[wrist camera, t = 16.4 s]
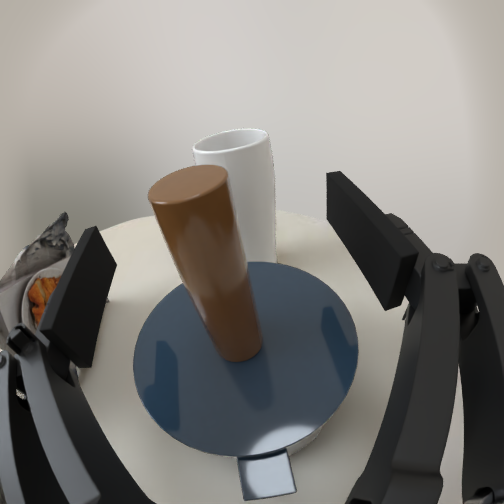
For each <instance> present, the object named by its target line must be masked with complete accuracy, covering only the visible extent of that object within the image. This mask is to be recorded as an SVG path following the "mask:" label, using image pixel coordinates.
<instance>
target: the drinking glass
mask: <svg viewBox="0 0 504 504" xmlns="http://www.w3.org/2000/svg"><path fill="white" fill-rule="evenodd" d="M192 151H193V156H194V161H195V166H197V165H218V166H222V167H224V168H225V169H226V170H227V171H228V174H229V178H230V183H231V188H232V193H233V197H234V202H235V207H236V212H237V217H238V221H239V226H240V231H241V236H242V240H243V245H244V250H245V254H246V259H247V262H271V263H277V253H276V208H275V207H276V206H275V174H274V164H273V156H272V150H271V144H270V139H269V134H268V133H267V132H266V131H264V130H261V129H253V128H245V129H234V130H228V131H224V132H219V133H216V134H213V135H210V136H208V137H205V138H203V139H201V140H199V141H198V142H196V143H195V144H194V145H193V147H192Z"/></svg>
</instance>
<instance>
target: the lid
mask: <svg viewBox="0 0 504 504" xmlns="http://www.w3.org/2000/svg"><path fill="white" fill-rule="evenodd" d="M148 200H149V201H150V205H151V207H152V210H153V213H154V215H155V218H156V220H157V223H158V226H159V228H160V231H161V233H162V235H163V238H164V240H165V243H166V245H167V248H168V250H169V252H170V255H171V257H172V259H173V262H174V264H175V266H176V269H177V271H178V273H179V275H180V278H181V280H182V282H183V283H182V284H181V285H179V286H178V287H176V288H175V289H173V290H172V291H171V292H170V293H169V294H168V295H166V296H165V297H164V298H163V299H162V300H161V301H160V302H159V303H158V304H157V306H156V307H155V308H154V309H153V311H152V312H151V313H150V315H149V316H148V318H147V320H146V321H145V323H144V325H143V327H142V329H141V331H140V333H139V336H138V339H137V342H136V346H135V351H134V359H133V372H134V380H135V384H136V388H137V392H138V395H139V397H140V399H141V401H142V403H143V406H144V407H145V409H146V410H147V412H148V413H149V415H150V416H151V418H152V419H153V420H154V421H155V422H156V423H157V424H158V425H159V426H160V428H162V429H163V430H164V431H165V432H166V433H168V434H169V435H170V436H172V437H173V438H174V439H176V440H178V441H180V442H181V443H183V444H185V445H187V446H189V447H191V448H194V449H196V450H199V451H202V452H204V453H208V454H213V455H217V456H222V457H237V458H244V457H255V456H262V455H266V454H271V453H275V452H278V451H281V450H283V449H286V448H288V447H291V446H293V445H295V444H297V443H299V442H301V441H302V440H304V439H306V438H307V437H309V436H311V435H312V434H313V433H315V432H316V431H317V430H318V429H319V428H321V427H322V426H323V425H324V424H325V423H326V422H327V421H328V420H329V419H330V418H331V417H332V416H333V415H334V413H335V412H336V411H337V410H338V408H339V407H340V405H341V404H342V402H343V401H344V399H345V397H346V395H347V393H348V391H349V389H350V387H351V385H352V382H353V380H354V376H355V372H356V369H357V363H358V353H359V350H358V337H357V332H356V328H355V324H354V322H353V319H352V317H351V314H350V312H349V311H348V309H347V307H346V306H345V304H344V302H343V301H342V300H341V299H340V297H339V296H338V295H337V294H336V293H335V292H334V291H333V290H332V289H331V288H330V287H329V286H328V285H326V284H325V283H324V282H322V281H321V280H320V279H318V278H316V277H315V276H313V275H311V274H309V273H307V272H305V271H302V270H300V269H298V268H294V267H291V266H288V265H283V264H278V263H271V262H247V259H246V254H245V250H244V245H243V240H242V236H241V231H240V226H239V221H238V217H237V212H236V207H235V202H234V197H233V193H232V188H231V183H230V178H229V174H228V171H227V170H226V169H225V168H224V167H222V166H218V165H197V166H192V167H187V168H184V169H181V170H178V171H175V172H173V173H171V174H169V175H167V176H165V177H163V178H162V179H160V180H159V181H157V182H156V183H155V184H154V185H153V186H152V187H151V189H150V190H149V192H148Z"/></svg>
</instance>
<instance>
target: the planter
mask: <svg viewBox="0 0 504 504" xmlns="http://www.w3.org/2000/svg"><path fill="white" fill-rule="evenodd" d="M0 504H7V503H6V499H5V495H4V491H3V487H2V483H1V478H0Z"/></svg>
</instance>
